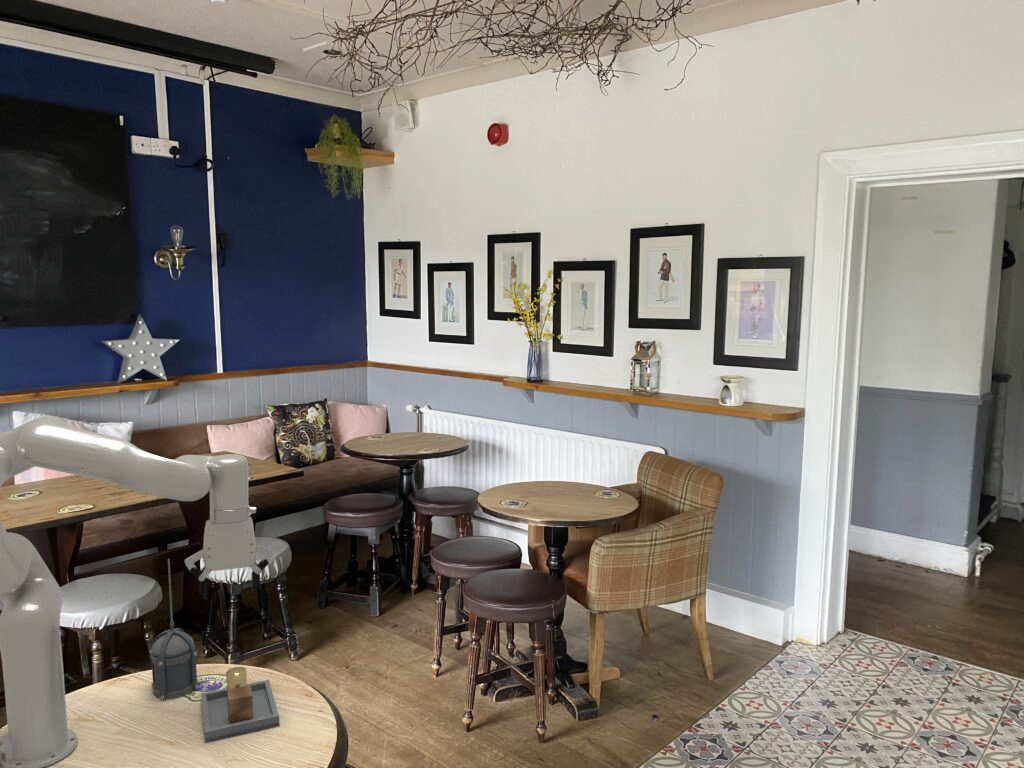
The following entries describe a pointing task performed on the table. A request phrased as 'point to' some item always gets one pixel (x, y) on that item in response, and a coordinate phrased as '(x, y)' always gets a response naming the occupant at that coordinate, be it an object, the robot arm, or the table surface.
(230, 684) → the brass cylinder
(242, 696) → the walnut block
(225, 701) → the tray
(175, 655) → the lantern
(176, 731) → the table surface
